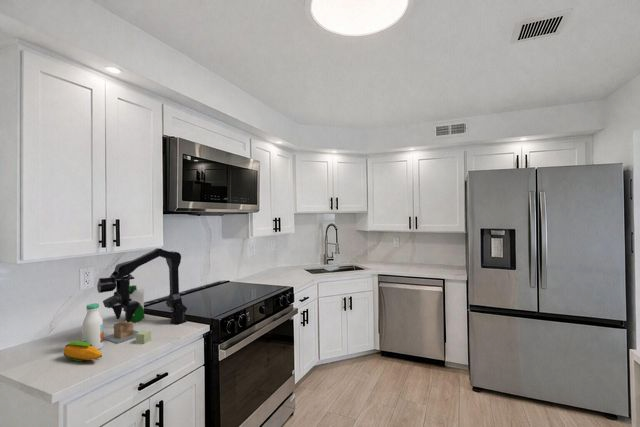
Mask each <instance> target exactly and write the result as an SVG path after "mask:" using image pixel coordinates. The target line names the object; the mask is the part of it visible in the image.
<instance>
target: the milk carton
mask: <svg viewBox="0 0 640 427" xmlns="http://www.w3.org/2000/svg"><path fill="white" fill-rule="evenodd" d="M130 290H131V291H132V293H130V299H132V301H137V302H139V303H140V307H138V309H136V311H135V313H134V314H133V316H132V318H131V320H130V322H133V323H139V322H140V321H143V320H145V304H144V303H145V299H144V298H145V290H146V287H137V285H135V284H134V285H130ZM129 302H131V301H129ZM124 313H125V314H124V321H127V320H126V312H125V311H124Z"/></svg>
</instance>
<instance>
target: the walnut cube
mask: <svg viewBox="0 0 640 427" xmlns="http://www.w3.org/2000/svg"><path fill="white" fill-rule="evenodd" d="M133 330H134V322H127V321H125V320H124V321H121V322H115V323H113V334H114V336H115V337H117V338H120V339H121V338H124V337H127V336H130V335H133Z"/></svg>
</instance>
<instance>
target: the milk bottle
mask: <svg viewBox="0 0 640 427" xmlns="http://www.w3.org/2000/svg"><path fill="white" fill-rule="evenodd" d="M85 307H86V314H85V316H84V318H83V321H82V326H81V327H82V328H81V329H82V331H81V332H82V333H81V334H82V335H81V338H82V339H81V341H85V342H88V343H89V344H91V345H92V347H94V348H96V349H97V350H99V351H100V350H101V349H102V348H103V347H104V339H103V337H104V319H103V318H102V315H101V314H100V311H99V309H100V303H90V304H87V305H86V306H85Z"/></svg>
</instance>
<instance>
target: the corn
mask: <svg viewBox="0 0 640 427" xmlns="http://www.w3.org/2000/svg"><path fill="white" fill-rule="evenodd" d="M63 356H65V358H67V359H69V360H70V361H71V360H72V361H75V362H82V363H83V362H84V363H85V361H91V360H95V359H100V358H103V357H102V356H103V355H102V352H101V351H100V349H99V350H97V349H96V348H94V347H92V345H91V344H89V343H88V342H85V341H82V340H74V341H70V342H69V343H67V344H65V345H64V348H63Z"/></svg>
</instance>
